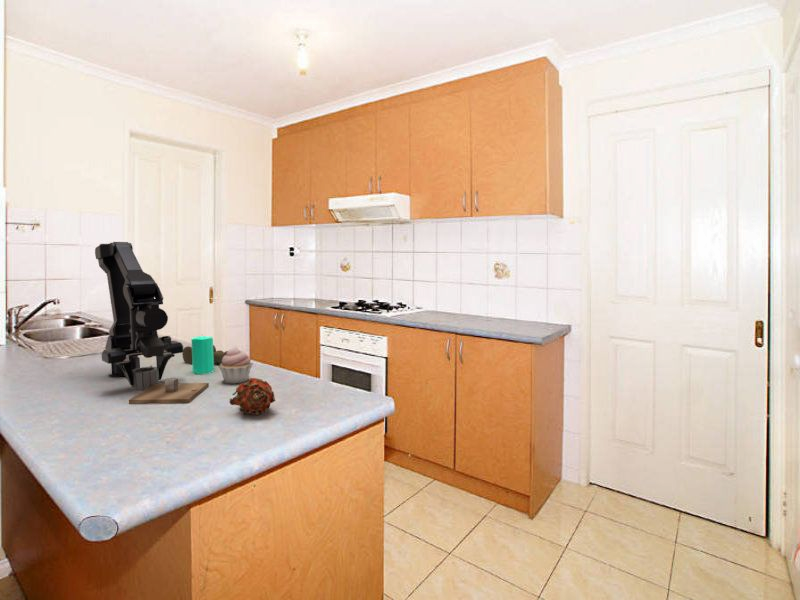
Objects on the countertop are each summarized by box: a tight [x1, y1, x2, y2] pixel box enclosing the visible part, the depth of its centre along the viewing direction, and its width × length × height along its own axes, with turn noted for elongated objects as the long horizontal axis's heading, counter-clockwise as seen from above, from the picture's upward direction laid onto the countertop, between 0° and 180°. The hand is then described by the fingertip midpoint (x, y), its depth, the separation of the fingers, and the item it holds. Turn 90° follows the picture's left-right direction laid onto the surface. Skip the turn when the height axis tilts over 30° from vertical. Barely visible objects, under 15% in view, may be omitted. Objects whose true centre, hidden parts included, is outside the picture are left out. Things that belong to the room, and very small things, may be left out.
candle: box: [191, 335, 215, 375], centre depth 140 cm, size 6×6×12 cm
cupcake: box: [218, 346, 254, 385], centre depth 130 cm, size 9×9×10 cm
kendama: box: [182, 344, 229, 365], centre depth 153 cm, size 6×10×20 cm
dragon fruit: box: [229, 377, 276, 416], centre depth 106 cm, size 8×8×12 cm
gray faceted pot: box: [131, 364, 160, 390], centre depth 125 cm, size 6×7×5 cm
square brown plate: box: [128, 377, 210, 405], centre depth 118 cm, size 14×14×4 cm
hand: (145, 382), depth 125 cm, fingers closed on gray faceted pot, 7 cm apart
